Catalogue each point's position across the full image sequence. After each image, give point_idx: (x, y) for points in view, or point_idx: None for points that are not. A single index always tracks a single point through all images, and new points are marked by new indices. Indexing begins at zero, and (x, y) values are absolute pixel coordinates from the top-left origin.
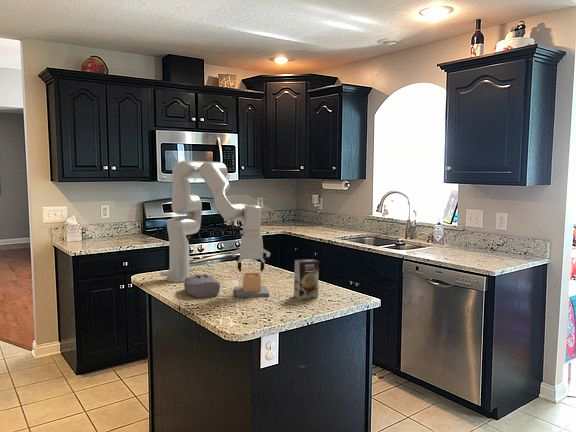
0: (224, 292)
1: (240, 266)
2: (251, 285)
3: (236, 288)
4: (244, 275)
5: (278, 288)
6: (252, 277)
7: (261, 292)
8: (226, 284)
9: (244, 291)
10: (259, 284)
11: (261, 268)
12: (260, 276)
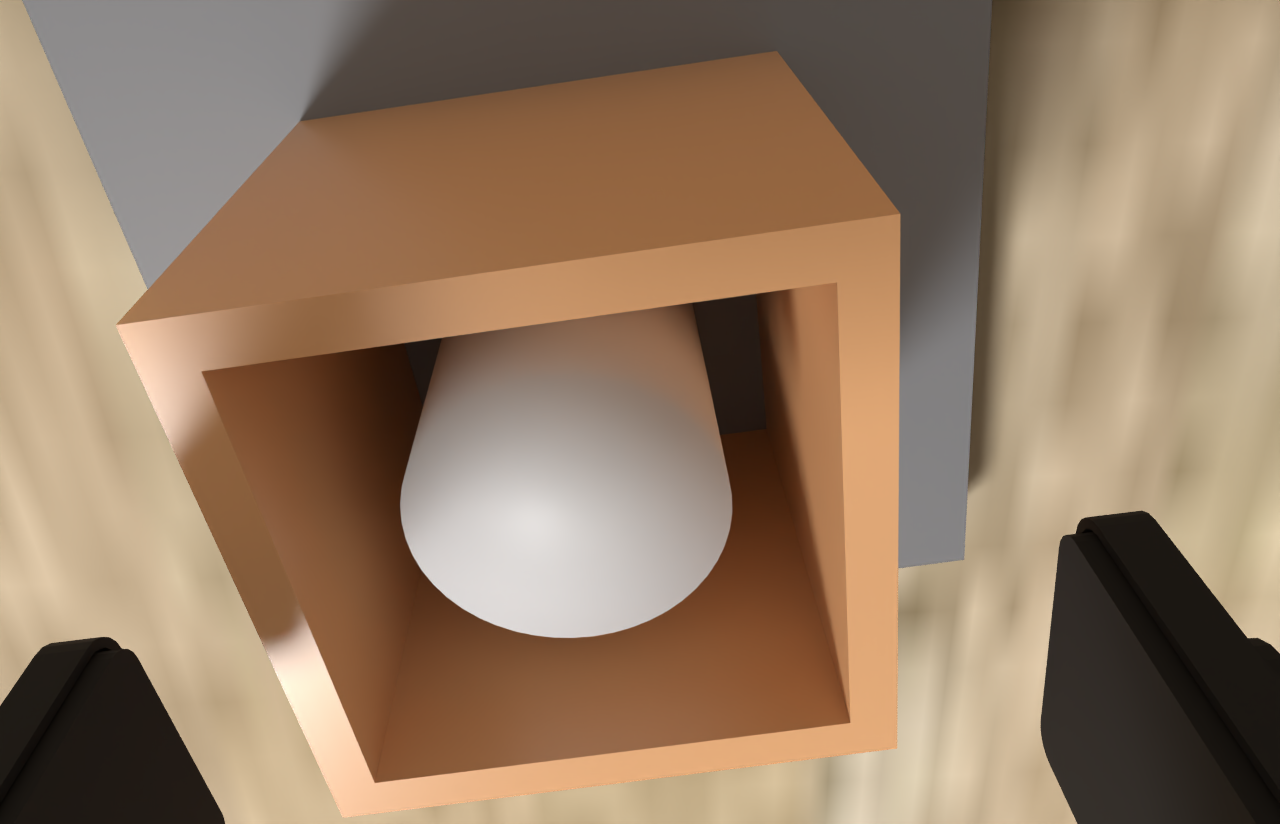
0: (1198, 304)
1: (1238, 705)
2: (556, 133)
3: (946, 405)
4: (864, 368)
5: (50, 639)
6: (505, 245)
7: (251, 3)
8: (1049, 811)
9: (762, 54)
10: (280, 182)
11: (38, 751)
12: (142, 313)
